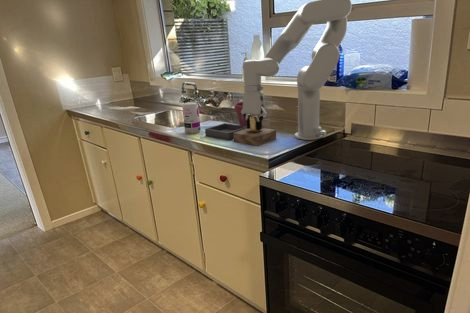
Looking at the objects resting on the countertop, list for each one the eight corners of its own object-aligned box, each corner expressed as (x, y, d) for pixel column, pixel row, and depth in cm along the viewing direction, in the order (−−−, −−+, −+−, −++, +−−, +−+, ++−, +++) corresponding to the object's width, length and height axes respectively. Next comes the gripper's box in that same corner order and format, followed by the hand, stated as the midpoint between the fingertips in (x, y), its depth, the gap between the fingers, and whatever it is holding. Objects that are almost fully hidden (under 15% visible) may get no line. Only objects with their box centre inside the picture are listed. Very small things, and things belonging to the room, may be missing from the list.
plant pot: (263, 129, 177) (262, 104, 173) (236, 131, 177) (234, 106, 173) (261, 123, 191) (260, 100, 187) (235, 125, 191) (234, 101, 187)
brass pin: (261, 139, 161) (260, 116, 157) (255, 141, 158) (254, 117, 154) (254, 138, 163) (253, 115, 160) (248, 140, 161) (247, 116, 157)
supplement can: (201, 129, 186) (198, 101, 181) (200, 133, 178) (197, 104, 173) (186, 130, 186) (183, 102, 181) (184, 134, 178) (181, 105, 173)
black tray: (248, 133, 172) (248, 126, 171) (228, 140, 162) (228, 133, 161) (225, 129, 182) (224, 123, 181) (205, 135, 173) (205, 128, 172)
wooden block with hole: (276, 138, 161) (276, 129, 159) (257, 145, 151) (256, 137, 150) (253, 134, 170) (252, 126, 169) (233, 141, 160) (233, 132, 159)
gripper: (273, 88, 150) (274, 129, 156) (243, 86, 161) (245, 125, 167) (262, 91, 145) (264, 133, 151) (232, 89, 156) (235, 128, 162)
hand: (254, 128), depth 159 cm, fingers open, 4 cm apart
